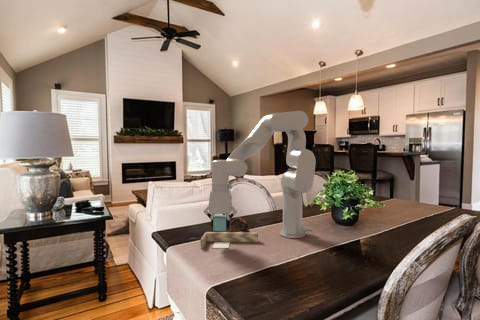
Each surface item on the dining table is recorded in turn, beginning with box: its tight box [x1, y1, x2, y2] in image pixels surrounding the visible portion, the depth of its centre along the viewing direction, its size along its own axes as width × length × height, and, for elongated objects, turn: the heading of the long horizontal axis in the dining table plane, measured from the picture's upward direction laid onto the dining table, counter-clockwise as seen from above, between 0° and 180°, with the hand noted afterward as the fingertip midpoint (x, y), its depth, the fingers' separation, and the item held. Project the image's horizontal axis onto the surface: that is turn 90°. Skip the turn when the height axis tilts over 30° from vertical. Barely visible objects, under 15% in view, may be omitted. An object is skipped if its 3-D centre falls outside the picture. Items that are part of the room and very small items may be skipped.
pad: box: [211, 241, 231, 249], centre depth 123 cm, size 7×7×1 cm
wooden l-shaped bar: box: [200, 231, 259, 250], centre depth 123 cm, size 25×10×4 cm, turn 86°
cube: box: [212, 214, 227, 232], centre depth 122 cm, size 6×6×6 cm
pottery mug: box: [229, 217, 250, 233], centre depth 142 cm, size 12×10×8 cm
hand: (220, 227), depth 122 cm, fingers closed on cube, 5 cm apart
